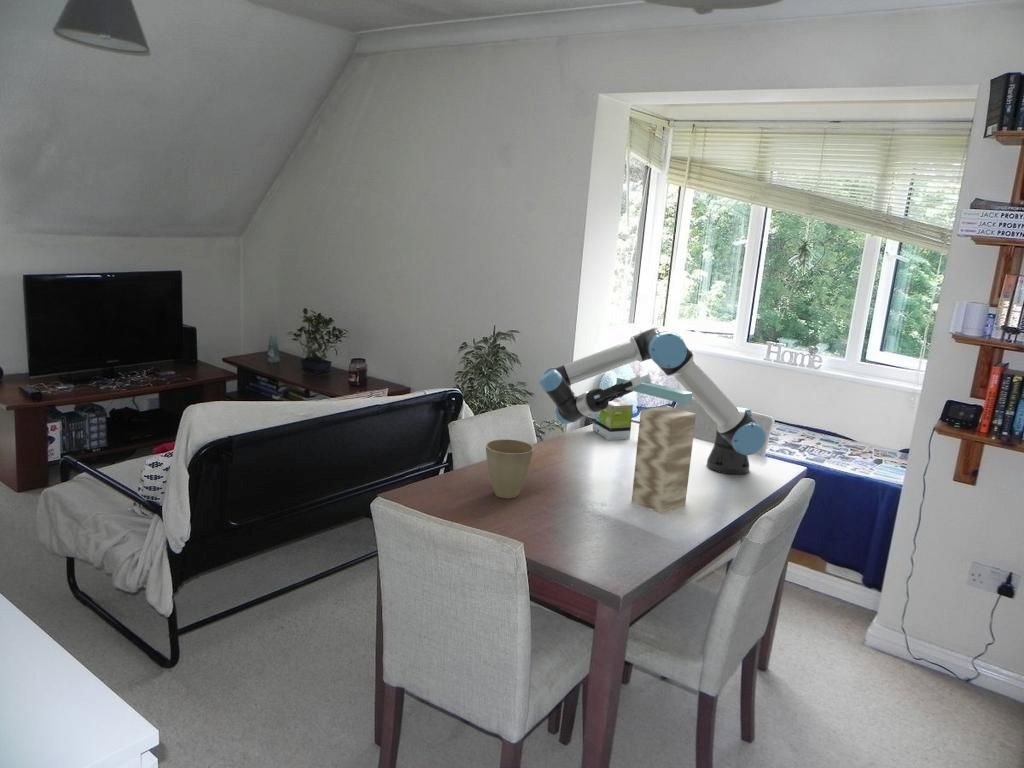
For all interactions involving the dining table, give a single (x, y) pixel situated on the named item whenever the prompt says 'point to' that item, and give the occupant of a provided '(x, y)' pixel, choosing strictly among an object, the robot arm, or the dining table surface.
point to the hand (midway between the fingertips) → (645, 379)
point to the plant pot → (508, 465)
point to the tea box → (614, 420)
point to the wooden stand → (663, 458)
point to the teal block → (660, 391)
